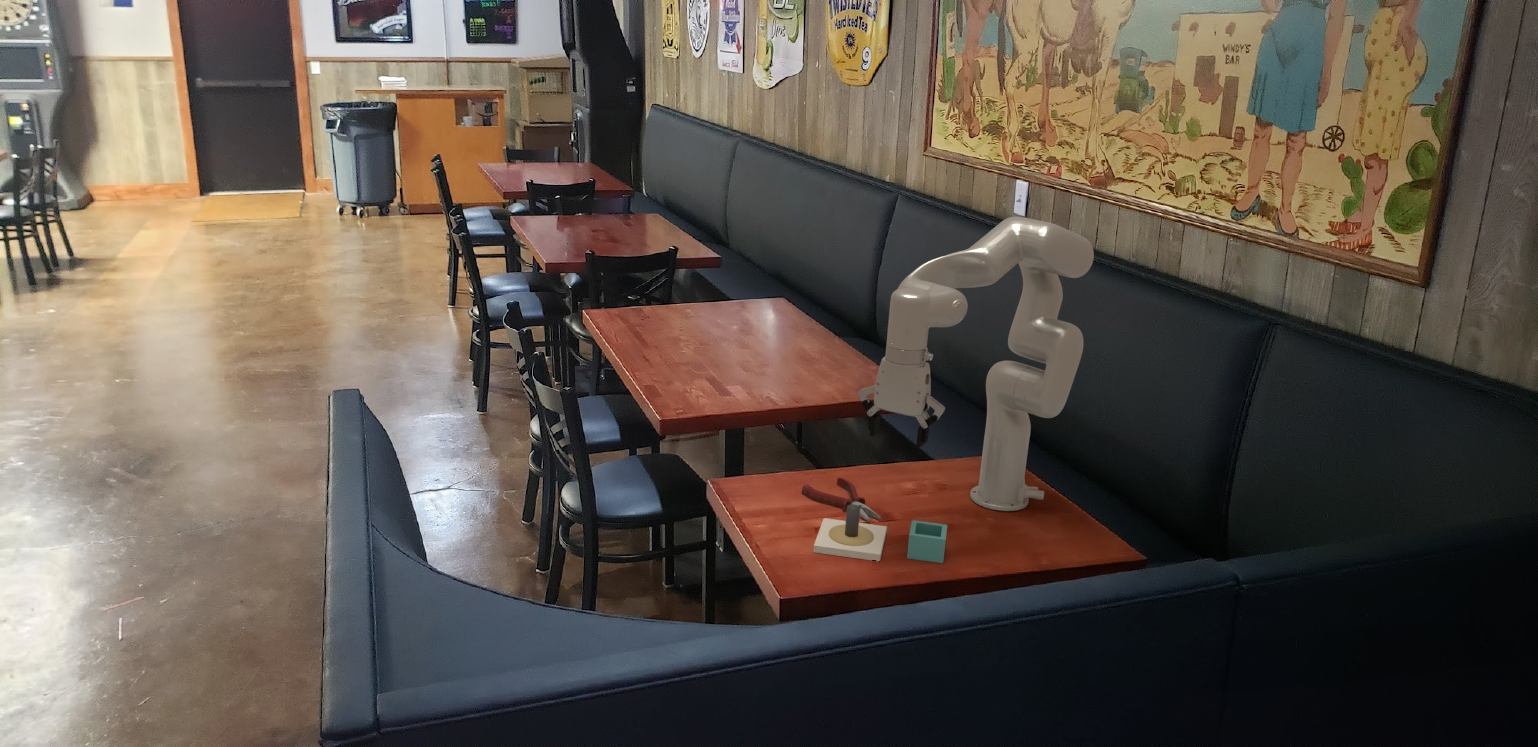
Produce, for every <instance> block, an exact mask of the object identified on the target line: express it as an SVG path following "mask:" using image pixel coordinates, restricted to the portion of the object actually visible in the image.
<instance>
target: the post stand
mask: <svg viewBox="0 0 1538 747" xmlns="http://www.w3.org/2000/svg"><path fill="white" fill-rule="evenodd" d="M845 514H846V516H845V520H841V519H833V518H828V517H827V518H825V517H823V519H822V522H821V525H820V528H819V529H818V532H817V536H816V539H815V541H814V544H813V550H812V551H813V552H812V553H815V554H816V553H817V554H822V555H831V556H837V557H845V558H851V559H852V558H853V559H858V560H859V559H860V560H866V561H872V560H876V561H875V562H879V561H880V562H881V558H882V553H883V549H884V545H885V541H886V535H887V533H888V532H887V530H888V526H886V525H879V524H871V523H865V522H864V523H862V522H860V517H859V516H860V506H858V505H854V504H851V505H848V506H847V511H846V513H845Z"/></svg>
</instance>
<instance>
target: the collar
mask: <svg viewBox="0 0 1538 747" xmlns="http://www.w3.org/2000/svg"><path fill="white" fill-rule="evenodd" d="M947 530H948V524H945V523H943V524H942V523H937V522H930V521H923V520H922V521H919V520H913V519H912V520H911V523H910V531H909V534H908V544H907V554H906V559H910V560H917V561H924V562H932V563H938V564H939V563H940V564H944V559H945V549H946V543H947V542H946V541H947V533H948V532H947Z"/></svg>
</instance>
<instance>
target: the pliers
mask: <svg viewBox="0 0 1538 747" xmlns="http://www.w3.org/2000/svg"><path fill="white" fill-rule="evenodd" d="M836 485H837V486H839V487H840V488H842V490H845V491H847V493H848V494H849V496H850V498H846V497H843V496H839V495H835V494H831V493H827V492H823V491H819V490H817V489H815V488H814V487H812V486H810V484H804V485H803V486H802V488H801V490H802V491H801V492H802V494H803V495H804V496H806V497H807V498H808V499H810V500H812V501H814V502H816V503H821V504H825V505H827V506H832V507H835V508H840V509H842V512H844V513H845V512H846V513H847V506H848V505H851V504H854V505H858V506H860V516H859V518H861V519H864V520H865V521H867V522H869V523H871V521H872V520H871V519H870V516H871V518H874V519H878V520H882V516H880V515H879V514H878V513H876V511H874V510H873V509H872V508H870V507H869V506H867V505H866V499H865V497H863V496H858V492H857V488H856V486H855V485H854V484H853V482H851V481H849V480H847V479H846V478H844V477H838V478H837V480H836Z"/></svg>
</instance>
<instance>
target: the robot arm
mask: <svg viewBox="0 0 1538 747" xmlns="http://www.w3.org/2000/svg"><path fill="white" fill-rule="evenodd" d="M1094 258H1095V254H1094V248H1093V245H1092V243H1091V242H1090V240H1088V238H1086V237H1084V236H1083V235H1080V234H1077V233H1075V232H1074V231H1071V230H1069V229H1067V228H1065V227H1062V225H1058V224H1055V223H1053V222H1048V221H1044V220H1040V219H1033V218H1029V217H1023V216H1010V217H1007V218H1005V219H1004V220H1002V221H1001V222H999V223H998V224H997V225H995V227H993V228H992V229H991V230H989V231H988V233H986V234H985V235H984V236H982V237H981V238H980V239H979V240H978V241H976V242H975V243H974V244H973V245H972V246H969V248H967V249H964V250H963V249H962V250H959V251H956V252H953V253H952V252H951V253H949V254H946V255H943V256H940V257H937V258H933V259H930V260H929V261H925V262H924V263H922V264H921V265H919V266H918V267H917V268H915V270H913V271H912V272H911V273H909V274H908V275H907V276H906V277H905V278H904V279H903V280H902V281H901V282H900V283H899V286H898V287H897V289H896V290H894V291H893V292H892V293H891V295H890V301H889V311H888V312H889V313H888V324H887V335H886V347H885V356H883V358H881V361H880V364H879V366H878V371H877V375H876V379H875V384H874V385H873V384H872V385H870V386H867V387H864V388H863V387H862V388H861V389H859V390H858V391H857V392H858V393H857V394H858V396H859V399H860V401H861V406H862V407H863V408H864V410H865V411H866V413H867V416H869V417H868V428H867V430H868V431H869V436H870V437H874V436H876V435H877V434H878V433H879V432H880V425H881V422H880V421H881V412H879V411H881V410H882V411H886V412H890V413H895V414H899V415H900V414H901V415H904V416H909V417H915V418H916V420H917V422H918V423H919V425H920V426H919V427H918V428H917V436H916V443H915V444H916V447H917V448H921V447H922V446H924V445H925V444H926V443H928V440H929V433H930V432H929V431H930V426H932V425H933V424H934V423H935V422H937V421H938V420H939V419H940V417H941V416H942V414H944V413H945V410H946V406H944V405H943V404H942V403H941V402H939V401H938V400H937V399H936V398H934V397H933V396H931V390H932V389H931V385H932V384H931V383H932V382H931V381H932V380H931V367H930V363H929V362H926V361H931V362H932V360H933V358H934V354H933V353H931V352H929V351H928V347H927V345H928V337H929V329H930V328H950V327H953V326H956V325H957V324H959V323H961V322H962V321H963V319H964V318H965V317H966V315H967V313H968V307H969V306H968V300H967V297H966V296H965V295H964V294H963V293H962V291H960V290H958V289H965V288H966V289H969V288H981V287H987V286H991V285H993V284H995V283H996V282H998V281H999V280H1000V279H1001V278H1002V277H1004V276H1005V275H1006V274H1007V273H1008V272H1009V271H1010V270H1012V269H1013V268H1014V267H1015V266H1016V265H1017V264H1018V265H1019V268H1020V272H1021V276H1022V292H1021V296H1020V298H1019V302H1018V305H1017V308H1016V311H1015V314H1014V317H1013V321H1012V324H1011V326H1010V330H1009V332H1008V333H1009V334H1008V339H1007V346H1008V349H1009V350H1010V351H1011V352H1012V353H1014V354H1016V355H1017V356H1020V357H1023V358H1026V359H1028V360H1032V361H1035V362H1039V363H1042V364H1045V369H1041V368H1038V367H1035V366H1032V365H1029V364H1025V363H1022V362H1018V361H1014V360H1002V361H998V362H996V363H994V364H993V365H992V366H991V367H990V369H989V370H988V373H987V374H986V381H985V393H986V421H985V422H986V423H985V431H984V436H983V437H984V438H983V445H982V455H981V463H980V471H979V480H978V485H975V486H974V487H972V488H971V489H970V495H969V496H970V499H971V500H972V501H973V502H974V503H976V504H977V505H978V506H981V507H983V508H986V509H989V510H993V511H994V510H995V511H999V512H1016V511H1020V510H1023V509H1024V508H1026V507H1027V506H1028V504H1029V499H1035V500H1039V501H1041V500H1042V501H1043V500H1044V496H1045V491H1044V490H1039V487H1038V486H1028V484H1026V479H1025V475H1026V467H1027V458H1028V453H1029V451H1028V450H1029V443H1030V437H1031V430H1032V429H1031V428H1032V425H1031V420H1030V416H1029V414H1031V415H1034V416H1036V417H1040V418H1045V419H1051V418H1054V417H1057V416H1058V415H1059V414H1060V413H1061V412H1062V411H1063V409H1064V407H1065V405H1066V403H1067V400H1068V398H1069V395H1070V393H1071V392H1070V391H1071V389H1072V385H1073V383H1074V380H1075V377H1076V374H1077V371H1078V368H1079V365H1080V362H1081V358H1082V355H1083V351H1084V336H1083V333H1082V331H1081V330H1080V328H1079V327H1078V326H1077V325H1075V324H1073V323H1071V322H1067V321H1063V320H1061V319H1058V317H1059V313H1060V309H1061V306H1062V302H1063V298H1064V294H1063V287H1062V282H1061V281H1060V280H1061V279H1060V278H1059V276H1062V277H1066V278H1071V279H1077V278H1081V277H1083V276H1084V275H1086V274H1087V273H1088V272H1089V271H1090V269H1091V267H1092V265H1093V263H1094V260H1095V259H1094ZM870 394H873V402H872V401H871V399H870V398H869V395H870ZM930 408H932V409H933V410H934V412H933V414H932V415H931V416H930V415H929V413H928V411H929V409H930Z"/></svg>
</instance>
